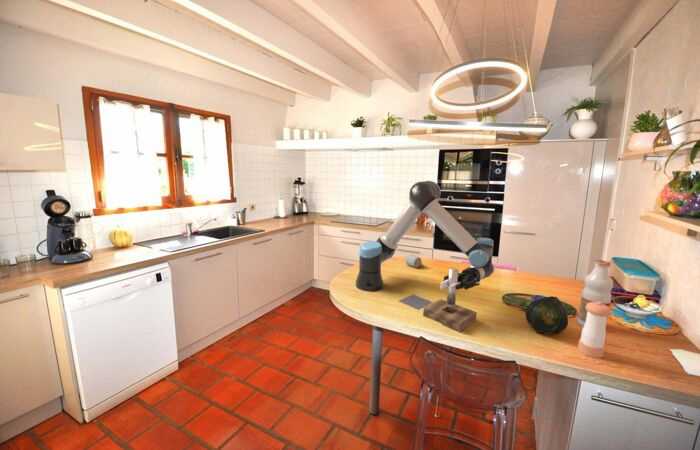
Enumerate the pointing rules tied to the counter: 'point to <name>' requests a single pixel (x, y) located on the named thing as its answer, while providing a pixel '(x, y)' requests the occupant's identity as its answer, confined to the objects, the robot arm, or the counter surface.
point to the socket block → (450, 315)
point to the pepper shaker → (594, 330)
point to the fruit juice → (596, 289)
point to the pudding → (537, 297)
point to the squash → (547, 315)
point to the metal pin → (452, 279)
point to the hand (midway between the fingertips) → (445, 287)
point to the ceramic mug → (413, 261)
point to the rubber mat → (415, 302)
